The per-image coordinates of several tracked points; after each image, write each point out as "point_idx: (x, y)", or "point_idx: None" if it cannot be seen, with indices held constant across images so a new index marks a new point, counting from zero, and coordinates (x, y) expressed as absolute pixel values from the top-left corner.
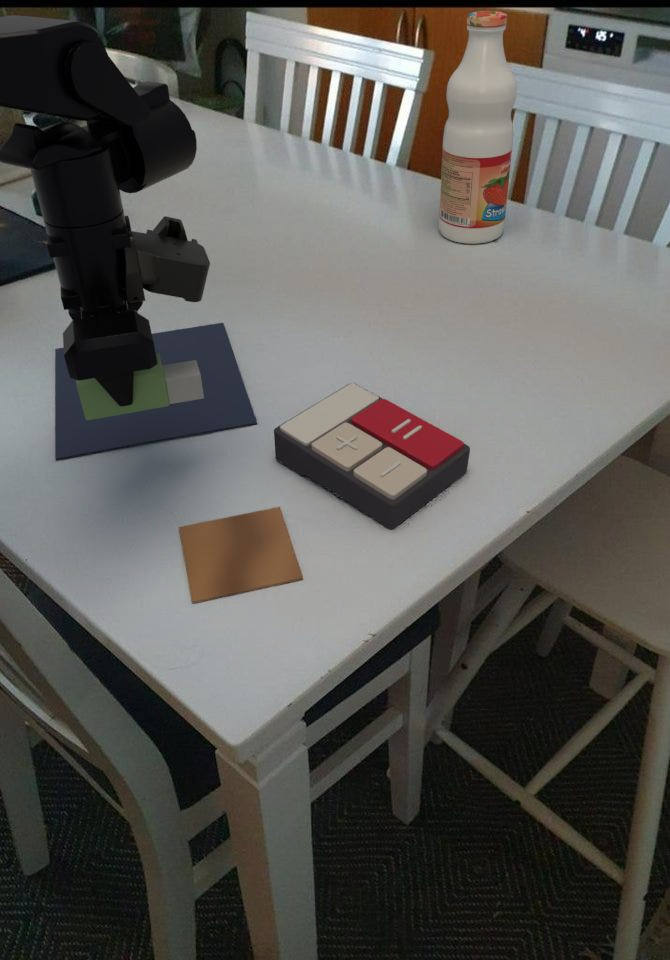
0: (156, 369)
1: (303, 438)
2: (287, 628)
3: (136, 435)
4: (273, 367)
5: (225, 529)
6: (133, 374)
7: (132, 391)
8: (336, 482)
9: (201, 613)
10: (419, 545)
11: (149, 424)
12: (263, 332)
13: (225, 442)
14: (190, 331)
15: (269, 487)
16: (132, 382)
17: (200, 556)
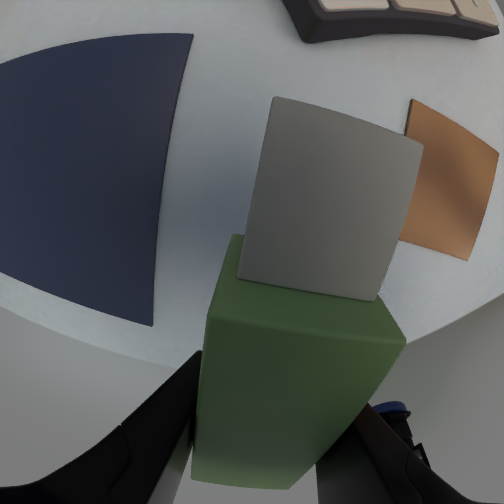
0: (376, 363)
1: (376, 2)
2: None
3: (136, 222)
4: (78, 4)
5: (416, 183)
6: (413, 452)
7: (367, 403)
8: (435, 28)
9: (475, 255)
10: (495, 41)
11: (117, 196)
12: (17, 22)
13: (214, 92)
14: None
15: (363, 83)
16: (389, 429)
17: (433, 230)
